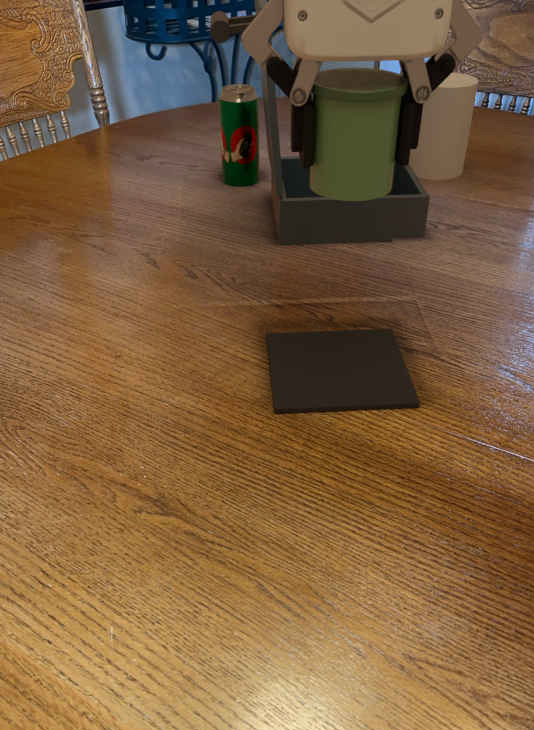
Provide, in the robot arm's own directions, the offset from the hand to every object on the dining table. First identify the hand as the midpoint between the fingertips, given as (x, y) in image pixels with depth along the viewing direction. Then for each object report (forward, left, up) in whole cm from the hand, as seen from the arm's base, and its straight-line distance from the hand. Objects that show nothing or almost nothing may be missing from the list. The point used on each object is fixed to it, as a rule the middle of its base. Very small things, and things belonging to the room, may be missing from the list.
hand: (352, 158), depth 50 cm
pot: (0, 0, -2) cm, 2 cm away
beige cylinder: (-20, -48, -18) cm, 55 cm away
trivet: (0, 0, -18) cm, 18 cm away
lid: (+4, -32, -3) cm, 32 cm away
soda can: (+7, -46, -18) cm, 50 cm away
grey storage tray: (-5, -32, -18) cm, 37 cm away
